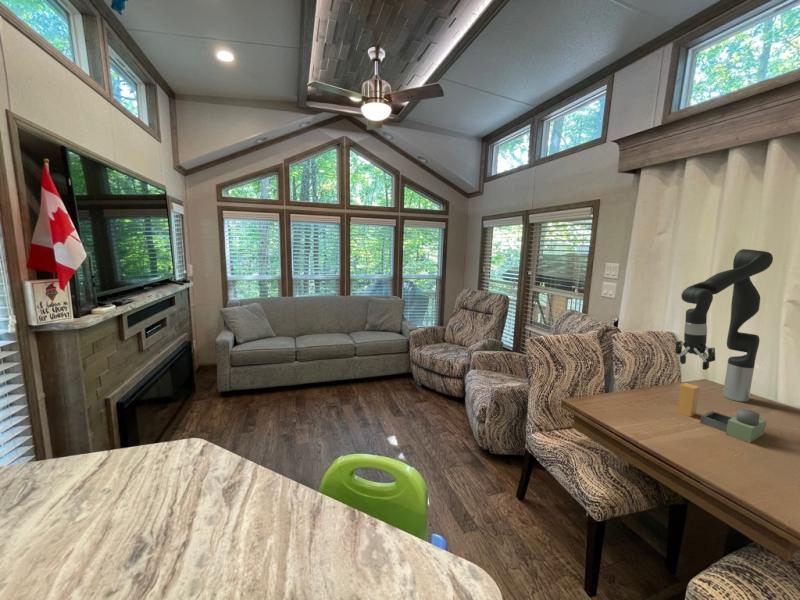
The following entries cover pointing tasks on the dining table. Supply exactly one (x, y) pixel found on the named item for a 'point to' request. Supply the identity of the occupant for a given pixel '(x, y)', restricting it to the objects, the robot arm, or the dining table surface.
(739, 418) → the mower housing
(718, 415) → the dark grey tray
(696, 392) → the tall orange pillar
